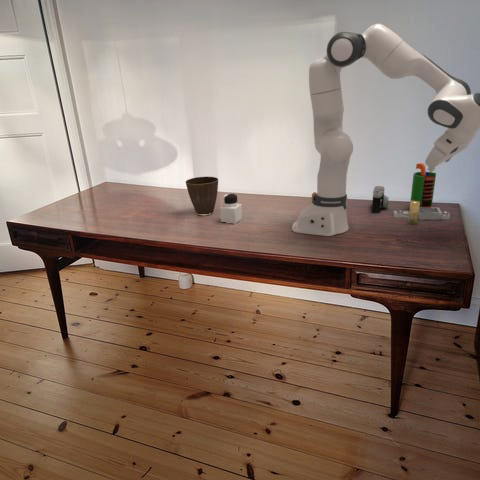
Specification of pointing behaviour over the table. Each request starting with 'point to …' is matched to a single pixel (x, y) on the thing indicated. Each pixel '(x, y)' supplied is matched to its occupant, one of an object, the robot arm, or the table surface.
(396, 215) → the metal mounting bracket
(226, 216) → the medicine bottle
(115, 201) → the table surface
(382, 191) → the camera
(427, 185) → the motor
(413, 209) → the link pin
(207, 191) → the plant pot
